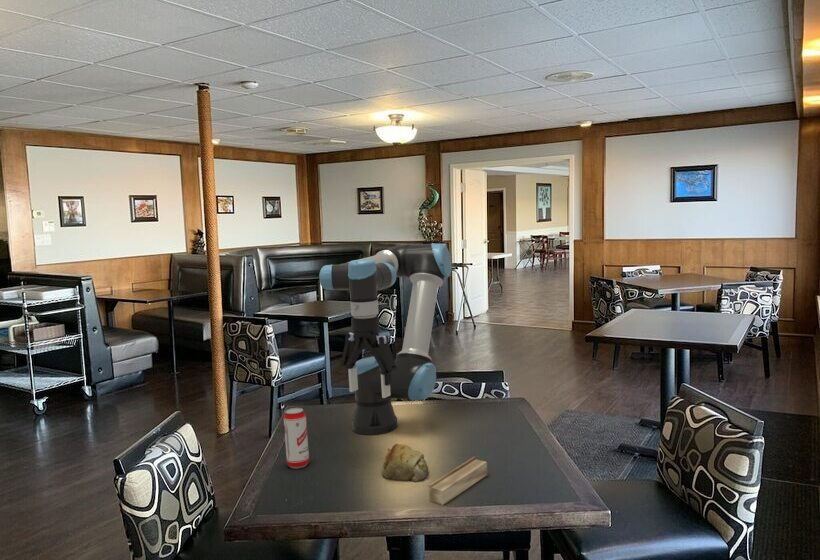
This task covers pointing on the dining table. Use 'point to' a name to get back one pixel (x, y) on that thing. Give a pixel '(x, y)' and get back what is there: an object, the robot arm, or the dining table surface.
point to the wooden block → (457, 481)
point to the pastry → (404, 464)
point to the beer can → (296, 438)
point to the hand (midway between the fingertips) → (369, 393)
